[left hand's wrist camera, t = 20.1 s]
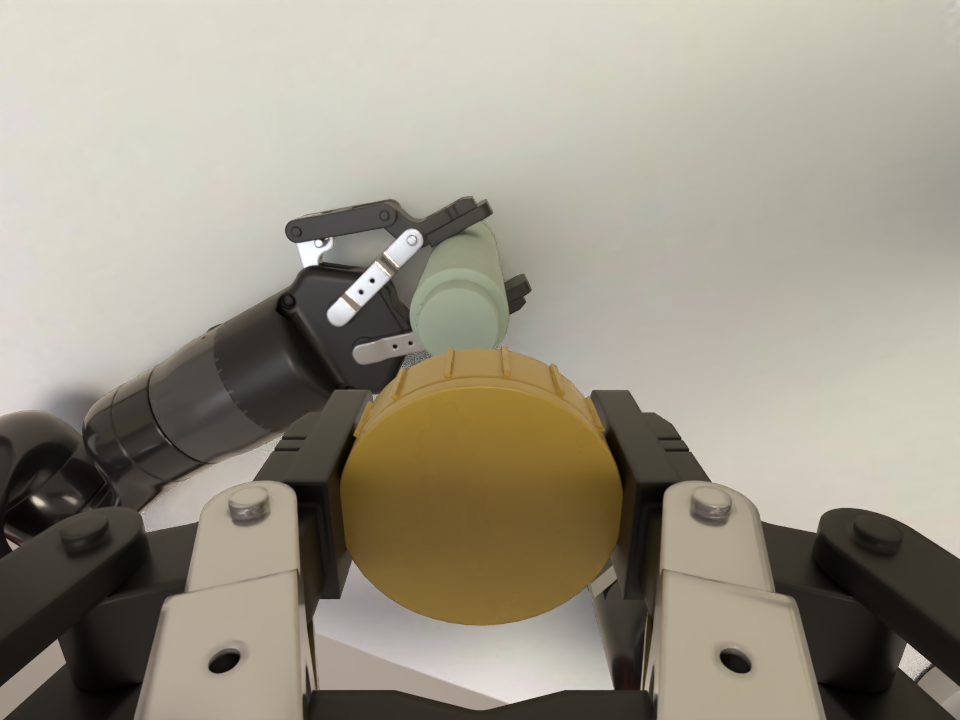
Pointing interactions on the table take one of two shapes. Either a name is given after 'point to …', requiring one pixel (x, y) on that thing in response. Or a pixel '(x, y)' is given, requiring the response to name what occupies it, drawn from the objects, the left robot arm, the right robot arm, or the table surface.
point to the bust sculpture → (942, 690)
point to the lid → (480, 489)
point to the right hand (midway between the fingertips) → (507, 245)
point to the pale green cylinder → (461, 295)
